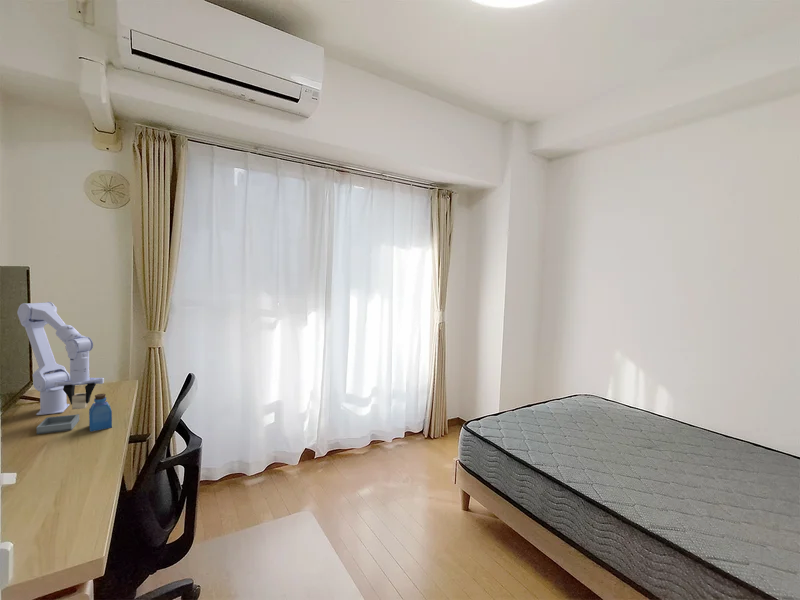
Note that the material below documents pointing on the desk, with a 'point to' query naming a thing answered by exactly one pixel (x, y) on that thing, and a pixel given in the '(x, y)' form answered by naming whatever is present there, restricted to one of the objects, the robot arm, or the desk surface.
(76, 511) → the desk surface
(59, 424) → the tray
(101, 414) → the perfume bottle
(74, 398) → the bored block
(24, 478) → the desk surface
